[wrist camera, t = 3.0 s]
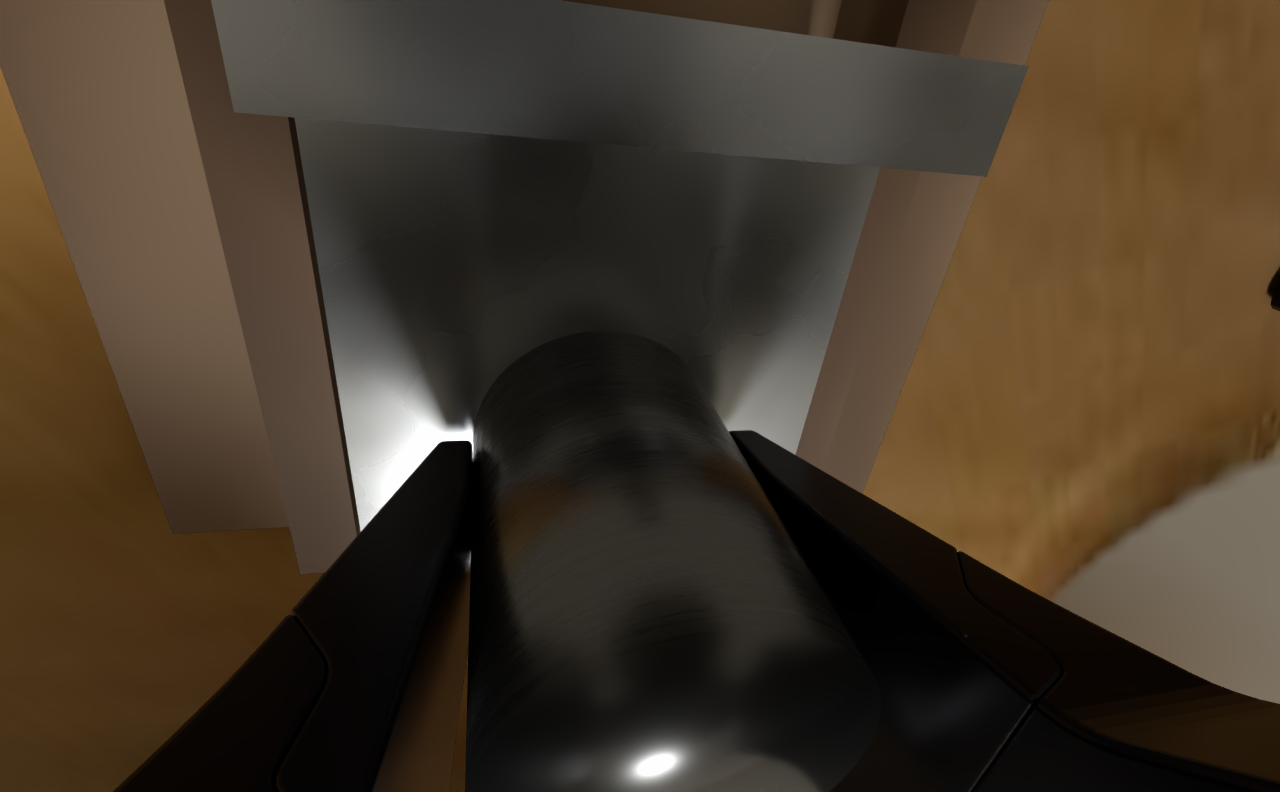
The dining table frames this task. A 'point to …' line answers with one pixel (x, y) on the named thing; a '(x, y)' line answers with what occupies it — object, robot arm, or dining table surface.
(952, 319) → the dining table surface
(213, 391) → the press bed
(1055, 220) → the dining table surface
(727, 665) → the metal press slider
